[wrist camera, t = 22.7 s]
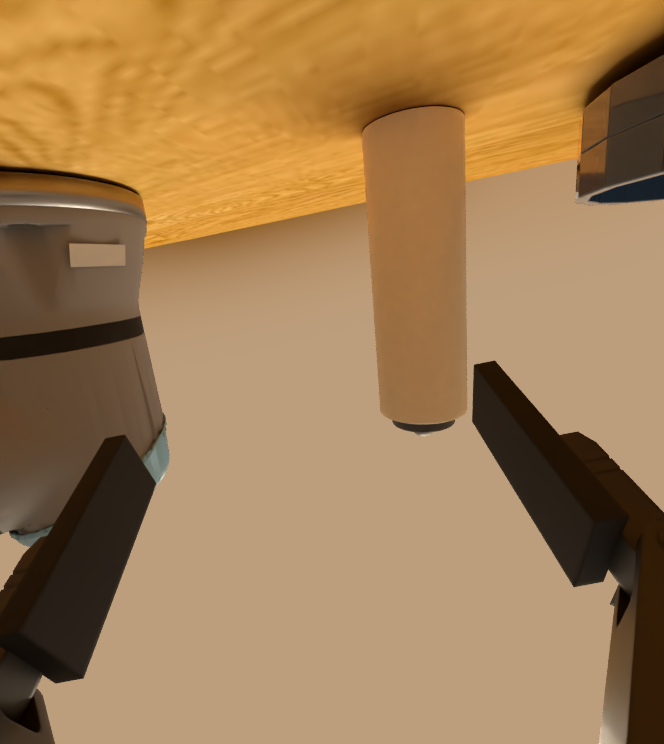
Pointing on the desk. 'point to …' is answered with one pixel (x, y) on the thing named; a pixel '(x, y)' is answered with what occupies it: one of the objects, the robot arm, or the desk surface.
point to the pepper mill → (418, 264)
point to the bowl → (624, 141)
